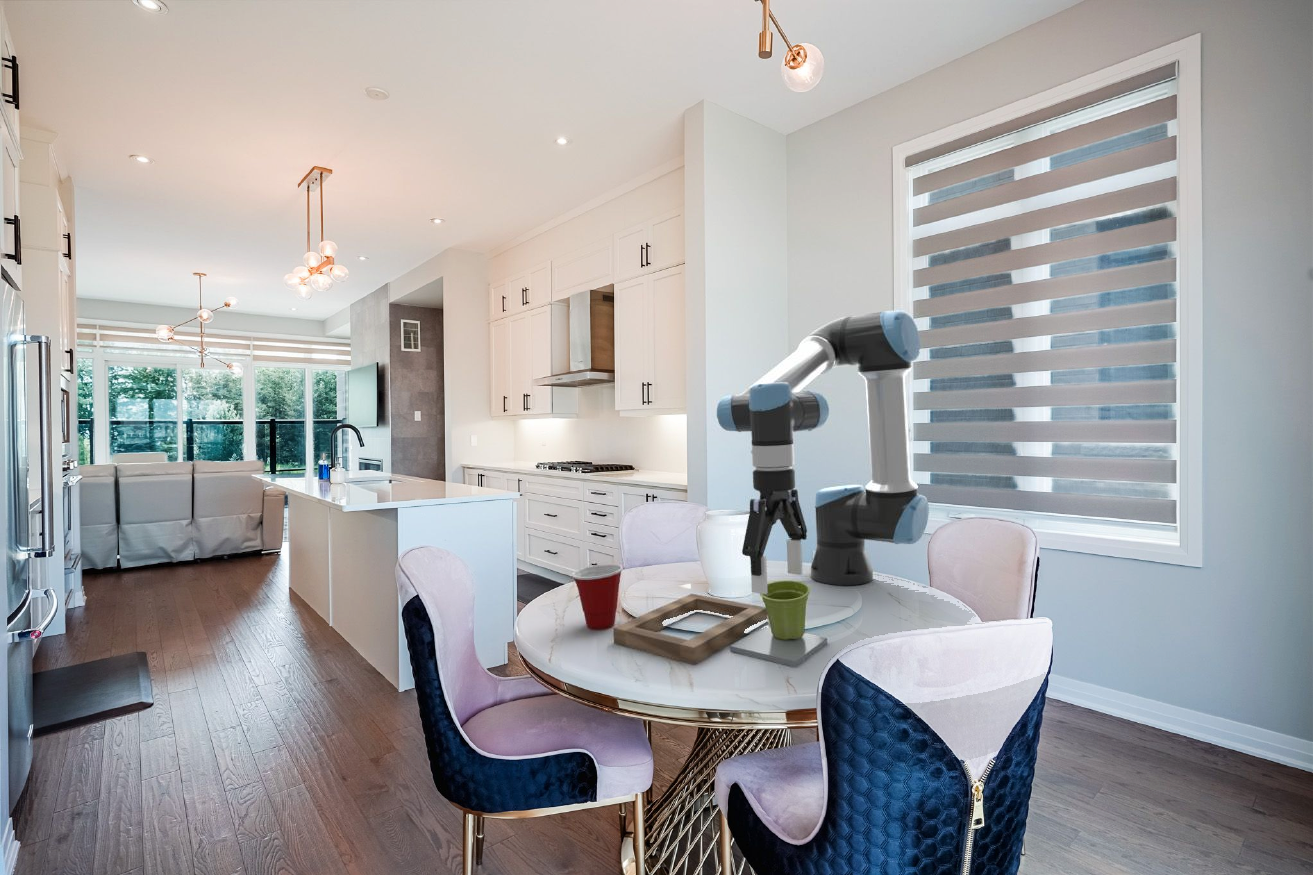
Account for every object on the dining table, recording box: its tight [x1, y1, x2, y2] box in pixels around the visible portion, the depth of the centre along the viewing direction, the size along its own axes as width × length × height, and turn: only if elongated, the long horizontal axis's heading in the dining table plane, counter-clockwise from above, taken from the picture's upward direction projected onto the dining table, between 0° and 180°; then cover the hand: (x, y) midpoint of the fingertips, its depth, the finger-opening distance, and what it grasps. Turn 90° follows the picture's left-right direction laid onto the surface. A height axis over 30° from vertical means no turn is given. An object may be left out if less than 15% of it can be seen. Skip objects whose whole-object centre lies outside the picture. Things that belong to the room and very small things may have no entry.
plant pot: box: [758, 580, 811, 640], centre depth 121 cm, size 9×9×9 cm
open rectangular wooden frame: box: [612, 593, 769, 665], centre depth 128 cm, size 26×19×3 cm
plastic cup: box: [570, 563, 624, 631], centre depth 135 cm, size 11×11×12 cm
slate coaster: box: [729, 626, 828, 668], centre depth 119 cm, size 13×13×1 cm
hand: (778, 582), depth 119 cm, fingers open, 13 cm apart
